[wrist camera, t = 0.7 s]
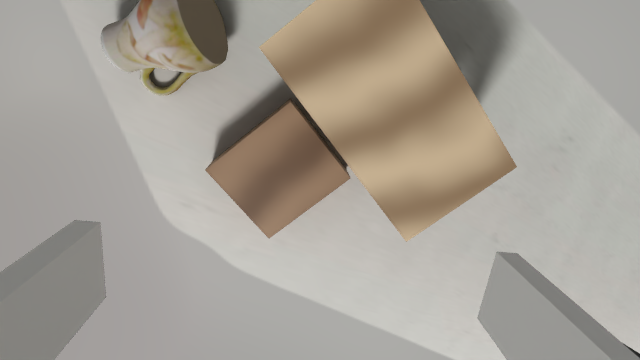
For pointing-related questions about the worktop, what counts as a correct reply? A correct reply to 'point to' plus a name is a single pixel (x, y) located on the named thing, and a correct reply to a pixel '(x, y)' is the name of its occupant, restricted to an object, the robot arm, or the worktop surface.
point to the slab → (278, 169)
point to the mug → (167, 40)
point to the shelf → (391, 105)
